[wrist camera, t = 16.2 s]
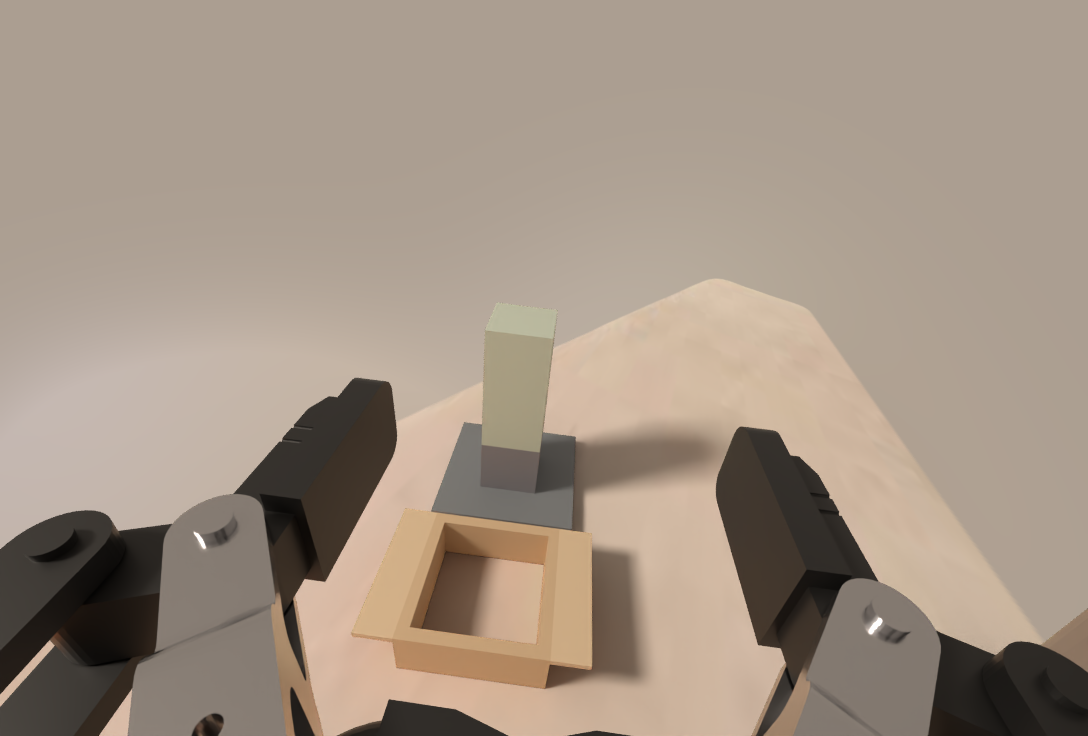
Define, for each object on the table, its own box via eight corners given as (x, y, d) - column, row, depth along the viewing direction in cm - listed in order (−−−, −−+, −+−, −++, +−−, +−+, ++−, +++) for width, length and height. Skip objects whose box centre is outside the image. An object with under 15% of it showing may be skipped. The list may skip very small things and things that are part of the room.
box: (539, 455, 46) (557, 310, 37) (534, 493, 42) (553, 338, 33) (490, 449, 46) (497, 302, 38) (480, 486, 42) (485, 330, 33)
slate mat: (574, 443, 49) (575, 436, 49) (570, 536, 39) (571, 529, 39) (464, 429, 50) (464, 422, 49) (431, 518, 39) (431, 510, 39)
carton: (585, 561, 37) (591, 533, 35) (583, 694, 29) (592, 666, 27) (408, 537, 38) (405, 508, 36) (358, 662, 29) (351, 632, 28)
